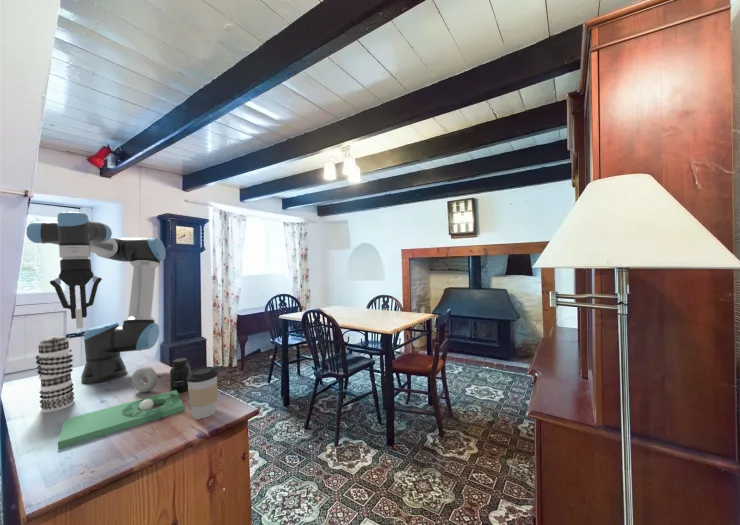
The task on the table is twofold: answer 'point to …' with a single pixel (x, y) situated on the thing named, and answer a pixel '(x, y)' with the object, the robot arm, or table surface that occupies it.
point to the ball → (146, 405)
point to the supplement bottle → (179, 375)
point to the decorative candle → (55, 373)
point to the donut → (138, 381)
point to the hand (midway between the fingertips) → (80, 327)
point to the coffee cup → (202, 391)
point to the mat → (117, 418)
